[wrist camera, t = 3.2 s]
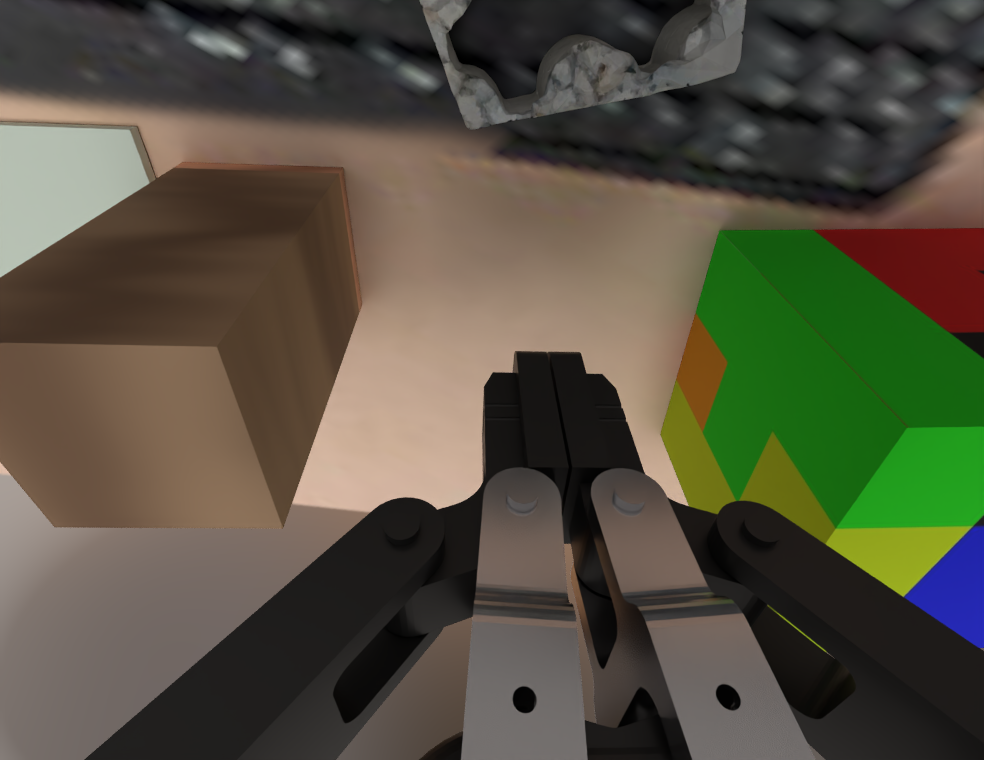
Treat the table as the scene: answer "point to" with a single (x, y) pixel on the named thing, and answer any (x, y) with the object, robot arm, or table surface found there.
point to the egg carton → (595, 64)
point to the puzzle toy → (846, 400)
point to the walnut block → (180, 349)
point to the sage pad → (62, 181)
